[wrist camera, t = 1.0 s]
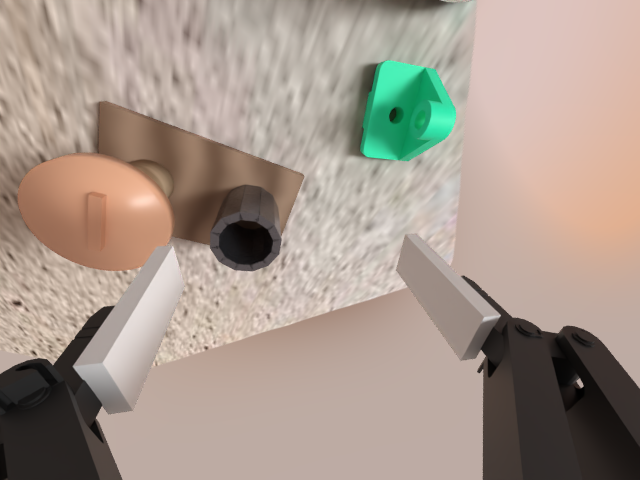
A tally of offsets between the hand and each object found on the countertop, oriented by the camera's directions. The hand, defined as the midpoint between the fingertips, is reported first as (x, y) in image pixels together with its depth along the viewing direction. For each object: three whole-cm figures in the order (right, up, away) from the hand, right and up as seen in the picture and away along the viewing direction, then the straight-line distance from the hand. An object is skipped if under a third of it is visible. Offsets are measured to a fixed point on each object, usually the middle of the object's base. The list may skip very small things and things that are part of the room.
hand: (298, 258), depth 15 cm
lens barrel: (-10, +6, +25) cm, 27 cm away
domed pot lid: (-21, +5, +13) cm, 25 cm away
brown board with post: (-16, +8, +24) cm, 30 cm away
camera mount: (+12, +20, +23) cm, 33 cm away
